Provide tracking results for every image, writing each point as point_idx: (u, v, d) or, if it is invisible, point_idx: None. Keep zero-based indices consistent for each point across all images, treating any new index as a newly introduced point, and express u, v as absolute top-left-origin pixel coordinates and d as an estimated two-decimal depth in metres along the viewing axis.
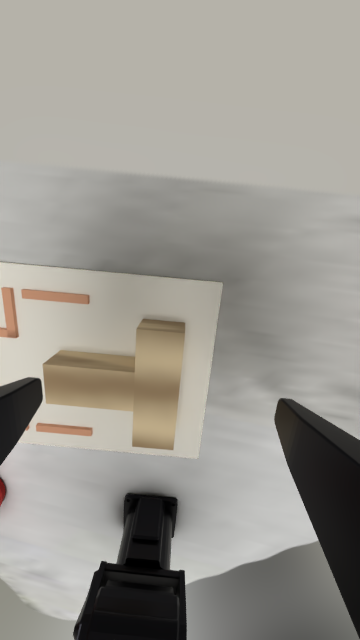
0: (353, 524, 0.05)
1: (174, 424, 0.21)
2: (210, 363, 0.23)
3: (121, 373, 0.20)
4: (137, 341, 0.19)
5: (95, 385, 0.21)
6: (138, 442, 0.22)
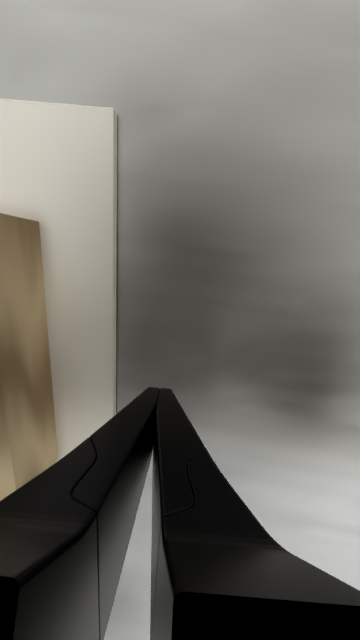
0: (154, 507, 0.05)
1: (8, 462, 0.09)
2: (110, 321, 0.10)
3: None
4: None
5: None
6: None
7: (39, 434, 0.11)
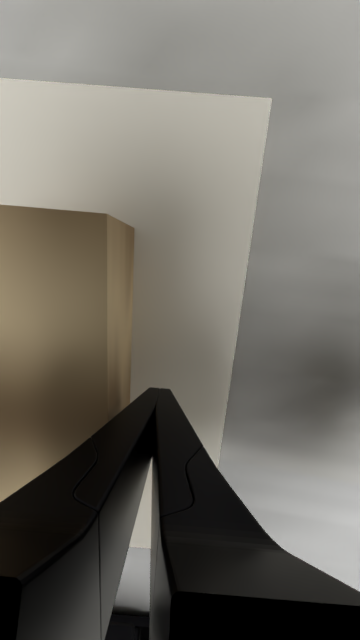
0: (153, 507, 0.05)
1: None
2: (233, 343, 0.09)
3: None
4: None
5: None
6: None
7: None
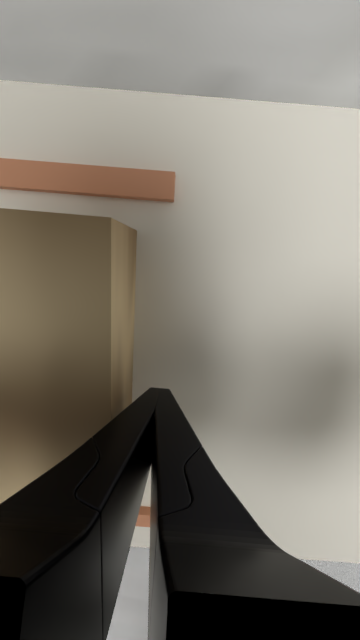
0: (152, 507, 0.05)
1: None
2: None
3: None
4: None
5: None
6: None
7: None
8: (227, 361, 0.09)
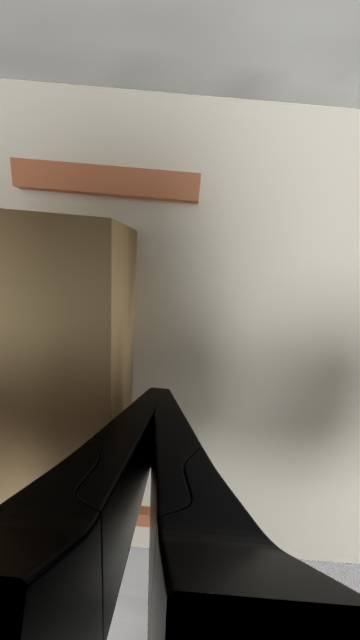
0: (152, 507, 0.05)
1: None
2: None
3: None
4: None
5: None
6: None
7: None
8: (246, 362, 0.09)
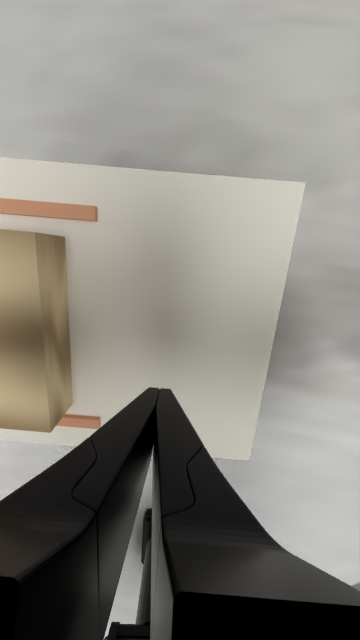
0: (154, 507, 0.05)
1: (45, 391, 0.14)
2: (276, 316, 0.15)
3: None
4: None
5: None
6: None
7: (62, 380, 0.16)
8: (137, 316, 0.16)
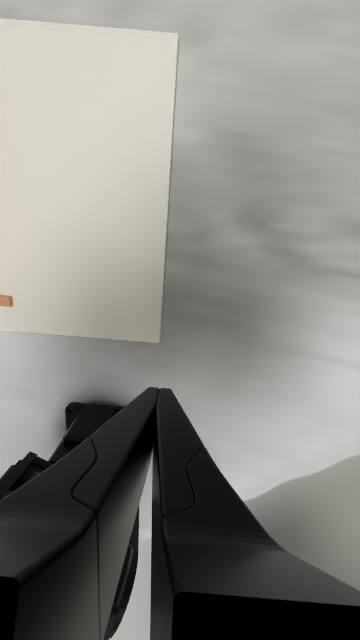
0: (154, 507, 0.05)
1: None
2: (167, 181, 0.16)
3: None
4: None
5: None
6: None
7: None
8: (35, 183, 0.16)
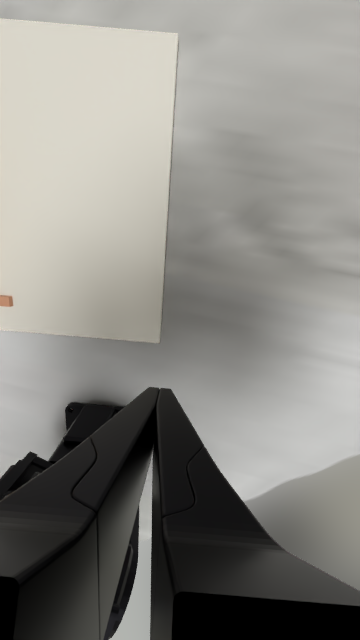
0: (154, 507, 0.05)
1: None
2: (167, 181, 0.16)
3: None
4: None
5: None
6: None
7: None
8: (35, 183, 0.16)
